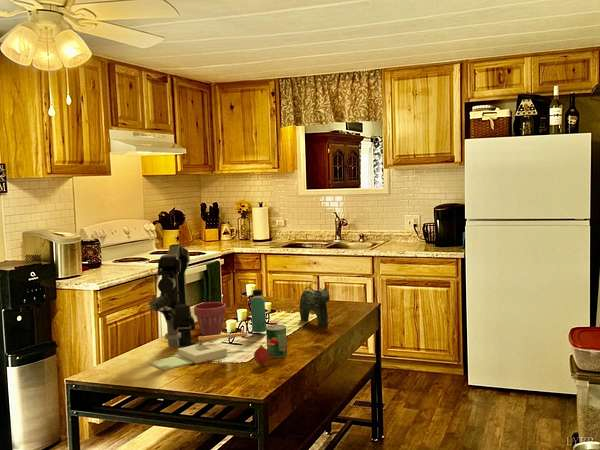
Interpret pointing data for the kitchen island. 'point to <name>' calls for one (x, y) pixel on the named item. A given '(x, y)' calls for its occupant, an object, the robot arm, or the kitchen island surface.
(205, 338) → the lever
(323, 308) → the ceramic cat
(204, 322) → the plant pot
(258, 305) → the beverage bottle
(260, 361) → the onion
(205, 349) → the socket block
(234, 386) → the kitchen island surface
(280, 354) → the canned tomato
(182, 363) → the pale green mat
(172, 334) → the plug
